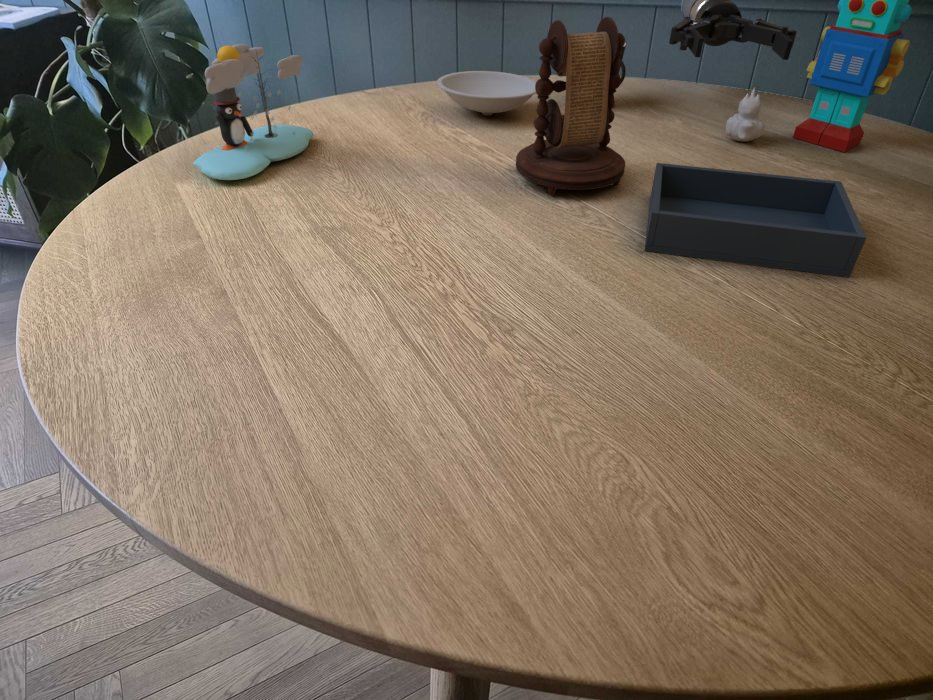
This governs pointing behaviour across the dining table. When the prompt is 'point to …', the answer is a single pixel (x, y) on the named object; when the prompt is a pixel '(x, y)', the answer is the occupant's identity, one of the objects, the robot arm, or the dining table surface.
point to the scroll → (576, 111)
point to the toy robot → (853, 69)
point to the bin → (753, 219)
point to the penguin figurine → (254, 146)
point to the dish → (487, 90)
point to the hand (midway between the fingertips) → (743, 49)
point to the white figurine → (746, 120)
